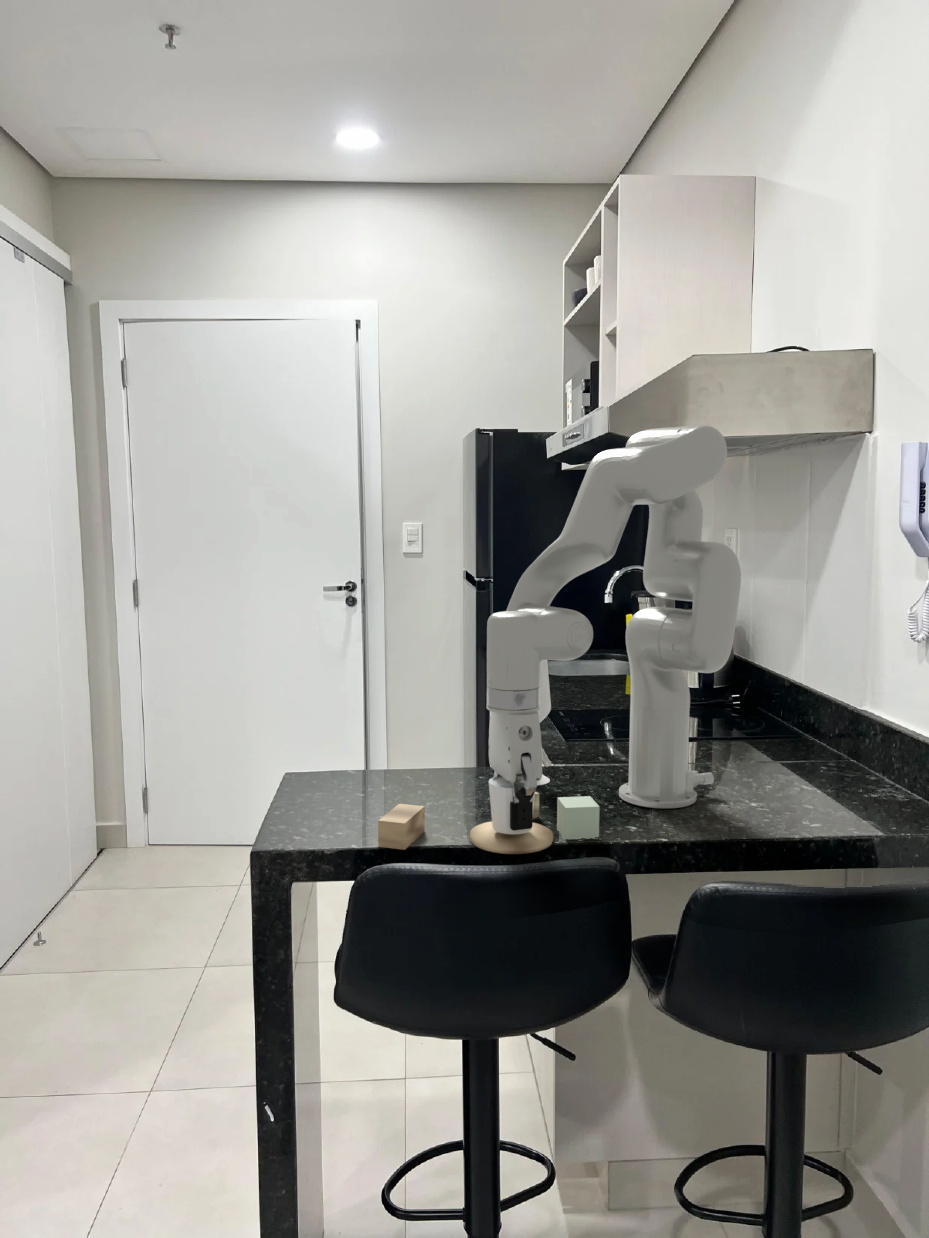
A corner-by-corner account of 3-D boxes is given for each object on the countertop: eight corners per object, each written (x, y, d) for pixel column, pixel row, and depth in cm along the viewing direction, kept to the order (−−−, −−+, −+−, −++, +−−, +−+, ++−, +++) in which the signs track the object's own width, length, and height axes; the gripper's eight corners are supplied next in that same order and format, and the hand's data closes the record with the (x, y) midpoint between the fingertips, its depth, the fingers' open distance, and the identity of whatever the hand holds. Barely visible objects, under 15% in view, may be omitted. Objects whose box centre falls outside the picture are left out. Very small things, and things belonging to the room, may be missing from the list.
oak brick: (399, 829, 140) (399, 803, 140) (424, 832, 139) (424, 806, 139) (378, 847, 133) (378, 820, 132) (404, 851, 132) (404, 823, 131)
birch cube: (523, 811, 149) (523, 786, 148) (538, 818, 145) (539, 793, 145) (502, 815, 146) (502, 790, 146) (518, 823, 143) (518, 797, 143)
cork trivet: (534, 821, 143) (534, 816, 143) (566, 848, 132) (566, 843, 132) (459, 829, 140) (459, 824, 140) (485, 858, 128) (485, 852, 128)
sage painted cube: (589, 828, 141) (590, 796, 140) (598, 840, 136) (599, 806, 135) (556, 830, 140) (557, 797, 140) (565, 841, 135) (565, 807, 135)
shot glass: (545, 827, 136) (545, 779, 135) (516, 839, 131) (516, 790, 130) (508, 817, 141) (508, 771, 140) (478, 828, 135) (478, 781, 135)
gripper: (562, 709, 127) (560, 838, 129) (515, 686, 143) (515, 801, 145) (510, 713, 124) (509, 844, 126) (468, 689, 141) (468, 805, 143)
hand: (512, 820), depth 136 cm, fingers closed on shot glass, 6 cm apart
